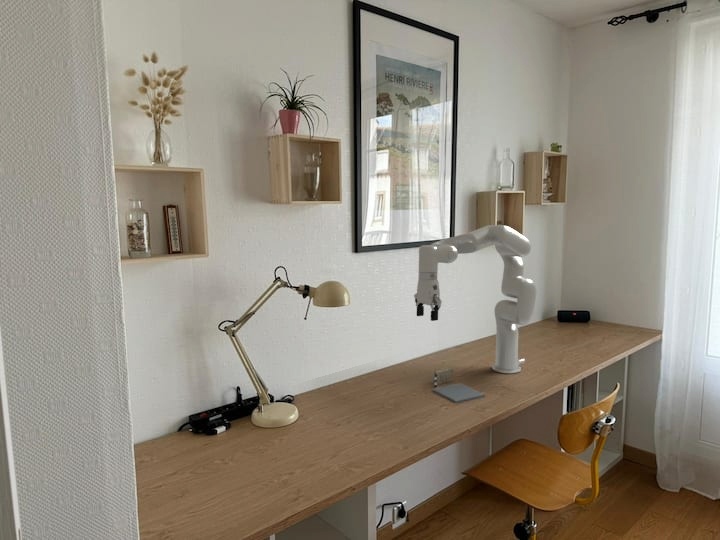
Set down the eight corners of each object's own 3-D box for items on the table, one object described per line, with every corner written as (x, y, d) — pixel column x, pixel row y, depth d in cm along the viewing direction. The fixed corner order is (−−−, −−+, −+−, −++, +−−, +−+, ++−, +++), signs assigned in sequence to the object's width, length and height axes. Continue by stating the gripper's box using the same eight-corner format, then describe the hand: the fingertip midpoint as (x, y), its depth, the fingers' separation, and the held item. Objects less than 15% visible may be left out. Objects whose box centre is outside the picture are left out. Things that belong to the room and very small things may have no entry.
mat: (460, 384, 209) (460, 382, 209) (484, 396, 196) (485, 394, 196) (432, 390, 202) (432, 388, 202) (456, 403, 189) (456, 401, 189)
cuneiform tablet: (435, 374, 205) (456, 369, 212) (428, 371, 208) (449, 366, 215) (434, 388, 206) (455, 382, 213) (428, 385, 209) (449, 379, 216)
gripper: (448, 278, 197) (447, 321, 198) (423, 273, 212) (422, 313, 214) (433, 279, 193) (432, 323, 195) (408, 274, 208) (407, 315, 210)
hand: (427, 318), depth 204 cm, fingers open, 9 cm apart
